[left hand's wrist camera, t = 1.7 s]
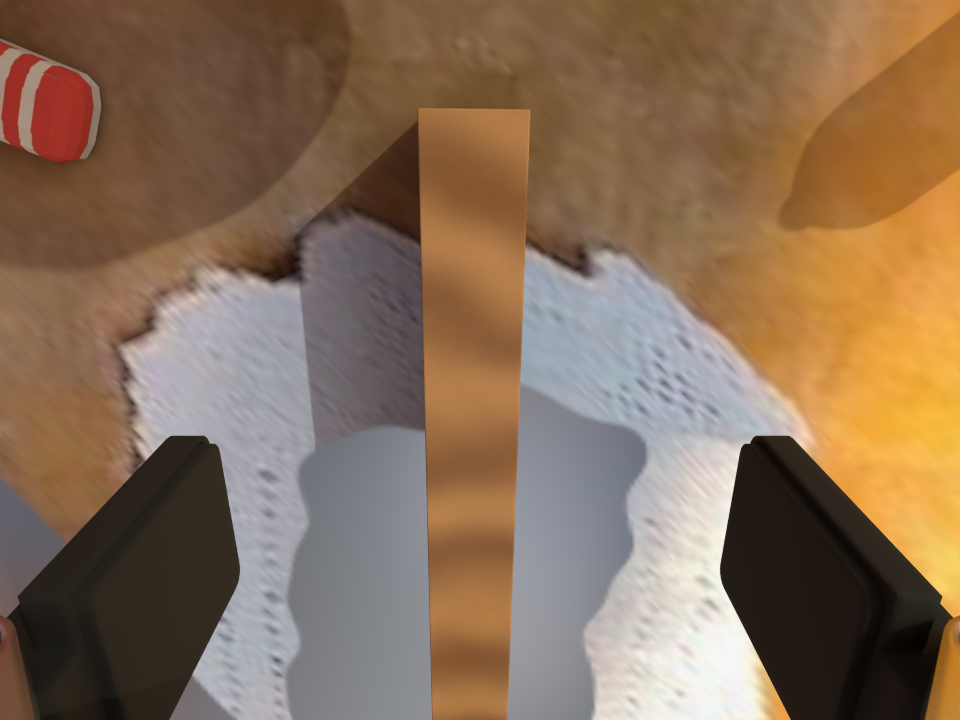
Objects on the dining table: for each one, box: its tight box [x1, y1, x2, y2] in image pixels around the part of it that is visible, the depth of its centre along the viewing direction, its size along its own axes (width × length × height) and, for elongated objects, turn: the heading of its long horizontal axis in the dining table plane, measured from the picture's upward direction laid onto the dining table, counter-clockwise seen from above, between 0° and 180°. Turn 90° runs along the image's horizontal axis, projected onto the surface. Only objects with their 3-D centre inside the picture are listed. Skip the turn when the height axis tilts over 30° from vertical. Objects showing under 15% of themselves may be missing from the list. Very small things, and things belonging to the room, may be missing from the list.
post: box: [417, 108, 530, 720], centre depth 42 cm, size 63×5×8 cm, turn 179°
